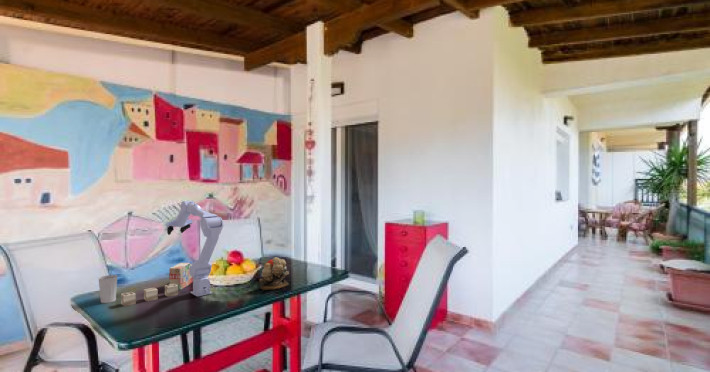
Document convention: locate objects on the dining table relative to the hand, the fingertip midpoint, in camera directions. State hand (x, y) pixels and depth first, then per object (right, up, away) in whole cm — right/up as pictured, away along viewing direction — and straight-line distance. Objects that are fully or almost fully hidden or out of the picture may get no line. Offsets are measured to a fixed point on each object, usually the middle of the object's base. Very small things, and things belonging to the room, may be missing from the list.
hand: (174, 232), depth 216 cm
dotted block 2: (+8, -30, -20) cm, 37 cm away
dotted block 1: (-6, -31, -34) cm, 46 cm away
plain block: (+1, -31, -27) cm, 41 cm away
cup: (-19, -31, -29) cm, 47 cm away
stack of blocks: (+6, -30, 0) cm, 31 cm away
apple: (+54, -30, +15) cm, 63 cm away
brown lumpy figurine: (+59, -30, -5) cm, 67 cm away
